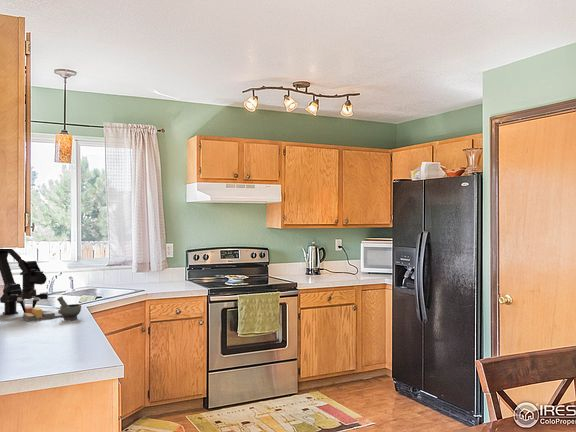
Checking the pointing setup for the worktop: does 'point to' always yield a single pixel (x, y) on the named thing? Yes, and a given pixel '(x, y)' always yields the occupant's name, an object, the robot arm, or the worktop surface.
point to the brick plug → (28, 309)
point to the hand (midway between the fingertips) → (28, 313)
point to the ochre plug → (37, 312)
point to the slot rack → (45, 315)
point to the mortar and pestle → (69, 310)
